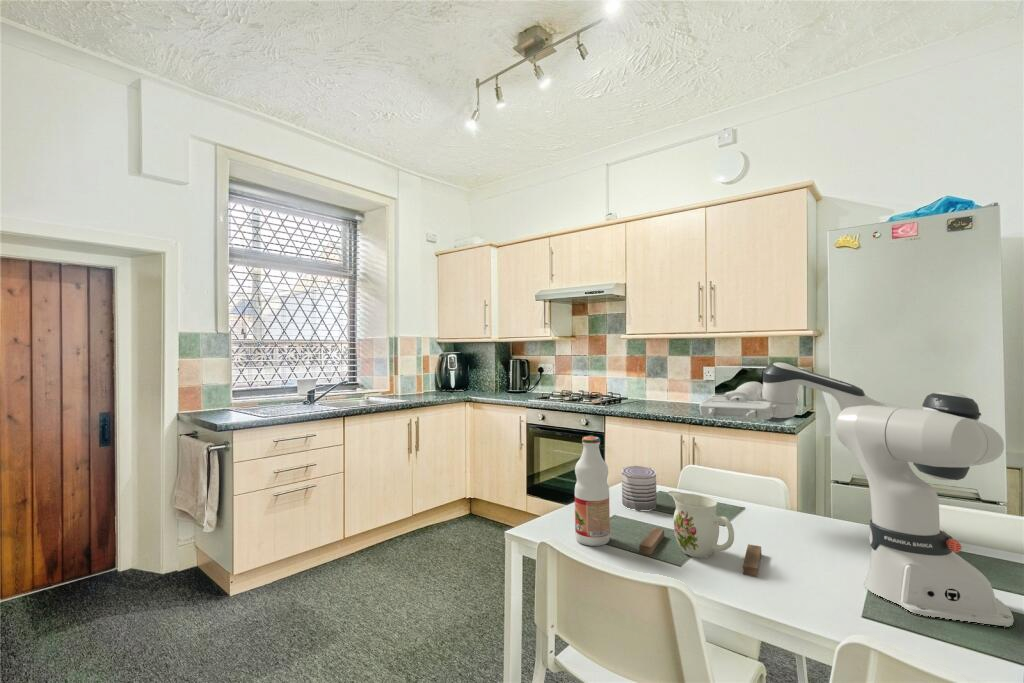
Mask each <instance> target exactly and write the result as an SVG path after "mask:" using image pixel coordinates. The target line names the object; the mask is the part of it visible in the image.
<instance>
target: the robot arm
mask: <svg viewBox="0 0 1024 683" xmlns="http://www.w3.org/2000/svg"><path fill="white" fill-rule="evenodd" d="M800 385H801V386H805V387H807V388H811V389H814V390H817V391H820V392H823V393H826V394H829V395H830V396H832V397H833V398H834V399H835V400H836V401H837V404H838V405H839V408H840V413H839V414H838V415H837V417H836V420H835V423H834V430H835V434H836V436H837V437H836V438H837V439H838V440H839V442H840V443H841V444H842V445H843V446H844V447H845V448H846V449H848V451H850V453H852V455H853V456H854V457H855V458H856V460H857V462H859V464H860V466H861V469H862V470H863V472H864V475H865V477H866V479H867V483H868V487H869V492H870V493H869V494H870V505H871V506H870V507H871V519H870V520H869V526H868V535H869V536H868V537H869V538H868V539H869V545H870V547H871V549H870V550H871V551H870V552H871V553H870V560H869V566H868V571H867V574H866V577H865V581H864V585H865V588H866V589H867V590H868V591H869V592H871V593H872V594H873V593H874V594H873V595H875V594H876V595H875V596H877V595H878V596H877V597H879V596H881V597H883V598H885V599H887V600H890V601H892V602H894V603H897V604H899V605H901V606H902V607H904V608H905V609H907V610H909V611H910V612H913V613H917V614H920V615H919V616H921V615H923V616H922V617H928V616H929V618H935V617H940V618H939V619H942V618H945V619H944V620H949V619H952V620H951V621H956V620H960V621H959V622H963V621H968V622H967V623H970V622H977V623H984V624H995V625H1006V626H1010V625H1012V624H1013V622H1014V623H1015V620H1014V616H1013V613H1012V611H1011V610H1010V609H1009V608H1008V606H1007V605H1006V604H1005V603H1003V602H1002V601H1001V600H1000V599H998V598H997V597H996V595H995V591H994V589H993V586H992V585H991V583H990V581H989V579H988V578H987V577H986V576H985V574H983V573H982V572H981V571H980V570H979V569H977V568H976V567H975V566H973V565H972V564H971V563H969V562H968V561H967V560H965V559H964V558H963V557H961V556H960V555H959V554H957V553H959V552H960V551H962V549H963V546H962V545H961V544H960V542H959V541H957V540H956V539H954V538H953V537H952V536H951V535H950V534H948V533H947V532H946V531H944V530H941V526H940V525H941V524H940V521H941V520H940V502H939V501H940V498H939V496H938V494H937V492H936V490H935V488H933V486H931V485H930V484H928V483H927V482H925V480H923V479H921V478H920V477H918V475H916V473H915V472H914V471H913V469H912V468H911V466H910V464H909V463H913V465H914V466H915V468H916V469H917V470H918V471H919V472H920V473H922V474H925V475H926V476H927V477H930V478H933V479H935V480H939V481H959V480H963V479H965V478H966V476H967V475H968V473H969V470H970V469H971V466H972V467H973V466H981V465H986V464H989V463H992V462H994V461H997V459H999V458H1000V457H1001V456H1002V454H1003V452H1004V449H1005V443H1004V440H1003V437H1002V436H1001V434H1000V433H999V432H998V430H997V431H996V429H994V428H993V427H991V426H990V425H988V424H986V423H983V422H981V421H980V420H979V419H980V417H982V413H981V412H980V407H979V404H978V403H977V402H976V401H975V400H974V399H973V398H970V397H968V396H966V395H964V394H962V393H958V392H954V391H941V392H935V393H934V392H932V393H930V394H928V395H926V396H925V399H924V400H923V402H922V405H921V407H923V408H922V409H918V408H917V409H915V408H908V407H904V406H900V405H895V404H891V403H885V402H881V401H878V400H875V399H873V398H871V397H870V396H868V395H866V394H865V392H864V390H863V389H862V388H861V387H858V386H856V385H855V384H850V383H848V382H845V381H842V380H839V379H835V378H832V377H830V376H825V375H822V374H819V373H816V372H812V371H809V370H806V369H803V368H800V367H798V366H795V365H792V364H790V363H786V362H782V361H781V362H780V361H779V362H777V361H776V362H772V363H770V364H769V365H768V366H766V367H765V368H764V369H763V370H762V383H761V382H758V381H747V382H744V383H743V384H740V385H739V386H737V388H736V389H734V390H730V391H726V392H718V393H712V394H711V395H710V397H708V398H706V399H705V400H703V401H702V402H701V403H700V404H699V407H698V408H699V414H700V416H702V417H708V419H713V420H714V419H716V418H730V419H731V418H732V419H739V420H742V421H745V422H747V421H750V420H764V421H766V422H770V423H784V422H787V421H789V420H791V419H793V418H794V417H795V416H796V410H797V403H798V401H797V399H798V392H799V386H800ZM885 599H884V600H885ZM887 600H886V601H887ZM892 602H891V603H892ZM894 603H893V604H894ZM902 607H901V608H902ZM905 609H904V610H905ZM907 610H906V611H907ZM910 612H909V613H910ZM913 613H912V614H913ZM930 616H931V617H930ZM977 623H976V624H977ZM984 624H983V625H984Z"/></svg>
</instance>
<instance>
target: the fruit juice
mask: <svg viewBox="0 0 1024 683" xmlns="http://www.w3.org/2000/svg"><path fill="white" fill-rule="evenodd" d="M581 443H582V446H583V447H582V448H583V449H582V452H581V455H580V457H579V459H578V460H577V462H576V463H575V467H574V473H575V478H576V483H575V485H574V522H575V523H574V525H575V528H574V529H575V530H574V532H575V533H574V534H575V540H576V541H577V542H578V543H579V544H581V545H584V546H589V547H590V546H591V547H597V546H598V547H599V546H604V545H607V544H608V543H609V542H610V539H611V530H610V528H611V526H610V525H611V524H610V522H611V521H610V518H611V517H610V513H611V512H610V488H609V484H608V476H609V467H608V464H607V462H606V461H605V460H604V459H603V457H602V453H601V450H600V444H601V438H600V437H598V436H593V435H592V436H582V439H581Z"/></svg>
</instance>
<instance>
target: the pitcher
mask: <svg viewBox="0 0 1024 683" xmlns="http://www.w3.org/2000/svg"><path fill="white" fill-rule="evenodd" d="M667 494H668V495H669V496H670V497H671V498H672V499H673V501H674V504H675V509H674V514H673V520H672V521H673V522H672V523H673V524H672V525H673V531H674V532H673V533H674V536H675V539H676V543H677V544H678V546H679V548H680V550H681V551H682V552H683V553H684V554H685V553H686V554H688V555H690V556H689V557H691V558H696V559H697V558H699V559H704V558H705V559H706V558H710V556H711V555H712V554H713V553H714V552H715V551H717V552H723V551H727V550H728V549H729V548H731V547H732V546H733V544H734V541H735V530H734V526H733V524H732V523H731V521H730V519H728V517H726V516H722V515H719V516H718V515H717V513H716V512H717V508H718V502H717V500H715V499H714V498H711V497H708V496H704V495H700V494H695V493H694V494H693V493H686V492H680V491H674V490H669V491H667ZM719 522H722V523H723V524H725V526H726V529H727V532H728V537H727V541H726V542H725V543H723V544H721V545H720V544H718V540H719V536H720V523H719ZM686 554H685V555H686ZM688 555H687V556H688Z"/></svg>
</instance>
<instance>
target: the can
mask: <svg viewBox="0 0 1024 683" xmlns="http://www.w3.org/2000/svg"><path fill="white" fill-rule="evenodd" d="M620 472H621V492H622V494H621V498H622V502H621V503H622V504H623V505H624V506H625V507H627V508H630V509H635V510H650V509H654V508H655V507H656V505H657V503H658V502H657V472H658V471H657V470H654V469H653V468H651V467H648V466H641V465H632V466H625V467H623V468H622V469H621V470H620ZM622 504H621V505H622ZM624 506H623V507H624ZM657 506H658V505H657ZM625 507H624V508H625ZM627 508H626V509H627ZM656 508H657V507H656ZM630 509H629V510H630Z"/></svg>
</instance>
